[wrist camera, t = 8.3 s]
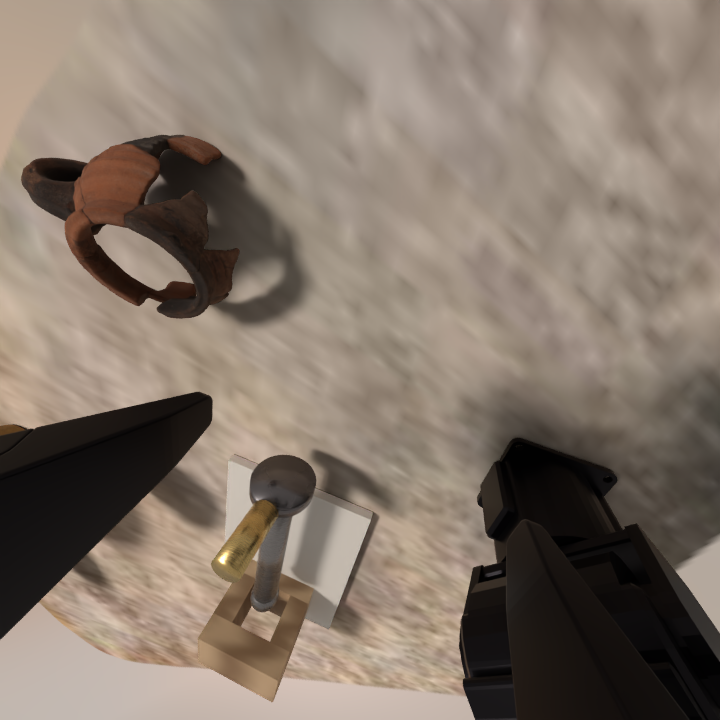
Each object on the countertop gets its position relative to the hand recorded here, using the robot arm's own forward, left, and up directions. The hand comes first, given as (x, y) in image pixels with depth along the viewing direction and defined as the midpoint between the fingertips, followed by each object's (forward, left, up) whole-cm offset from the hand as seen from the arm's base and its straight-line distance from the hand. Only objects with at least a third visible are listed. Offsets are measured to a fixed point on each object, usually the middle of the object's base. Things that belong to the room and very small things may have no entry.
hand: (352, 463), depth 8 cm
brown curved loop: (+17, -3, -13) cm, 21 cm away
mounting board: (+5, +27, -12) cm, 30 cm away
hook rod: (+5, +20, -10) cm, 23 cm away
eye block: (+5, +33, -12) cm, 35 cm away
